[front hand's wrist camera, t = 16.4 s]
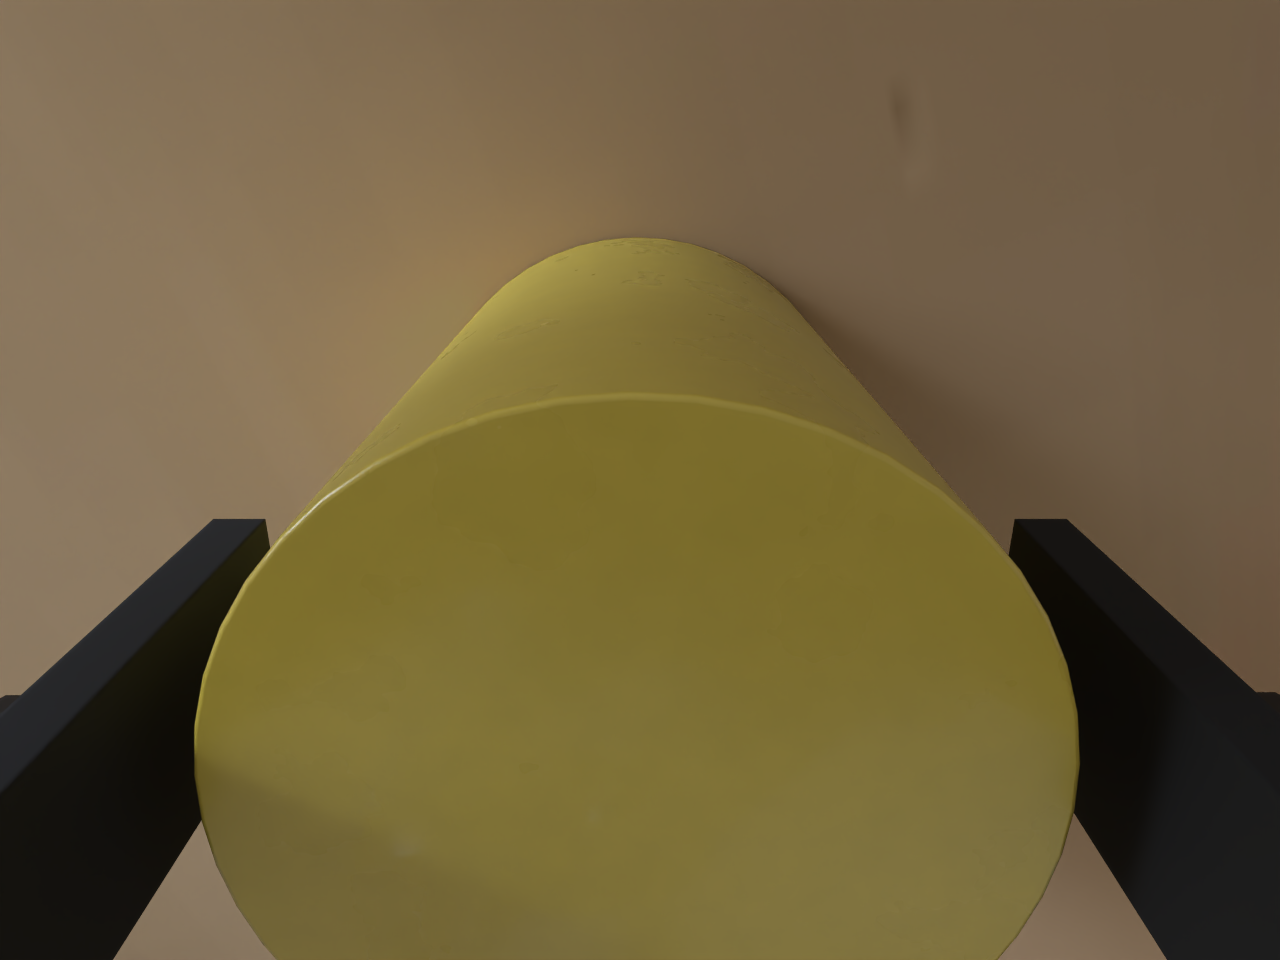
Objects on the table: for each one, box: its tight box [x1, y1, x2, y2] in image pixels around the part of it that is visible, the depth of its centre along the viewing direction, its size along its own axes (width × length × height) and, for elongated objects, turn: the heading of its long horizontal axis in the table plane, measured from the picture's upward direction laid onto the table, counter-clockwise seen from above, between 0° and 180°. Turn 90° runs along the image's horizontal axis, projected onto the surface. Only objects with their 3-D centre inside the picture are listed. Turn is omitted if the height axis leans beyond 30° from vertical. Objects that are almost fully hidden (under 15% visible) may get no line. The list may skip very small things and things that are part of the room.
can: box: [194, 237, 1080, 960], centre depth 15 cm, size 9×9×12 cm
